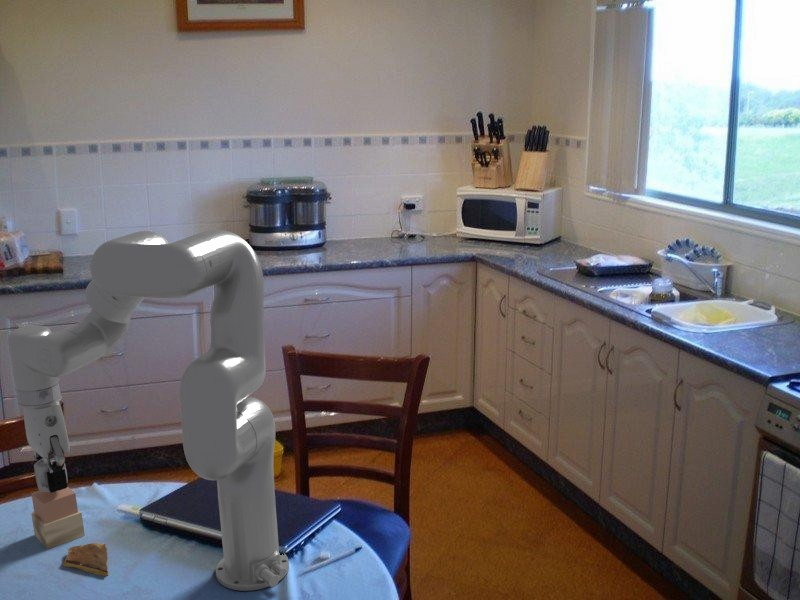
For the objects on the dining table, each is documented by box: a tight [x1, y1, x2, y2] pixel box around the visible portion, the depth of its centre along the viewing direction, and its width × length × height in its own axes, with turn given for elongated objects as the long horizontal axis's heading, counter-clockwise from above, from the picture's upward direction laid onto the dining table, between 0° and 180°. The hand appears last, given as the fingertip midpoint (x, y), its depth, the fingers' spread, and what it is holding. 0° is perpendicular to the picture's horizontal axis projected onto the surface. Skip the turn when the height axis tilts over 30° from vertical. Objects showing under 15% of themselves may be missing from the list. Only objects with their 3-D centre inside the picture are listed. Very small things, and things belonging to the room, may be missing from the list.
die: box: [33, 458, 69, 492], centre depth 163 cm, size 5×5×5 cm
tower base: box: [30, 509, 86, 550], centre depth 166 cm, size 7×7×5 cm
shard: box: [62, 542, 109, 577], centre depth 156 cm, size 11×8×2 cm
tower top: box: [31, 485, 79, 524], centre depth 165 cm, size 6×6×4 cm
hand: (52, 483), depth 163 cm, fingers closed on die, 5 cm apart
